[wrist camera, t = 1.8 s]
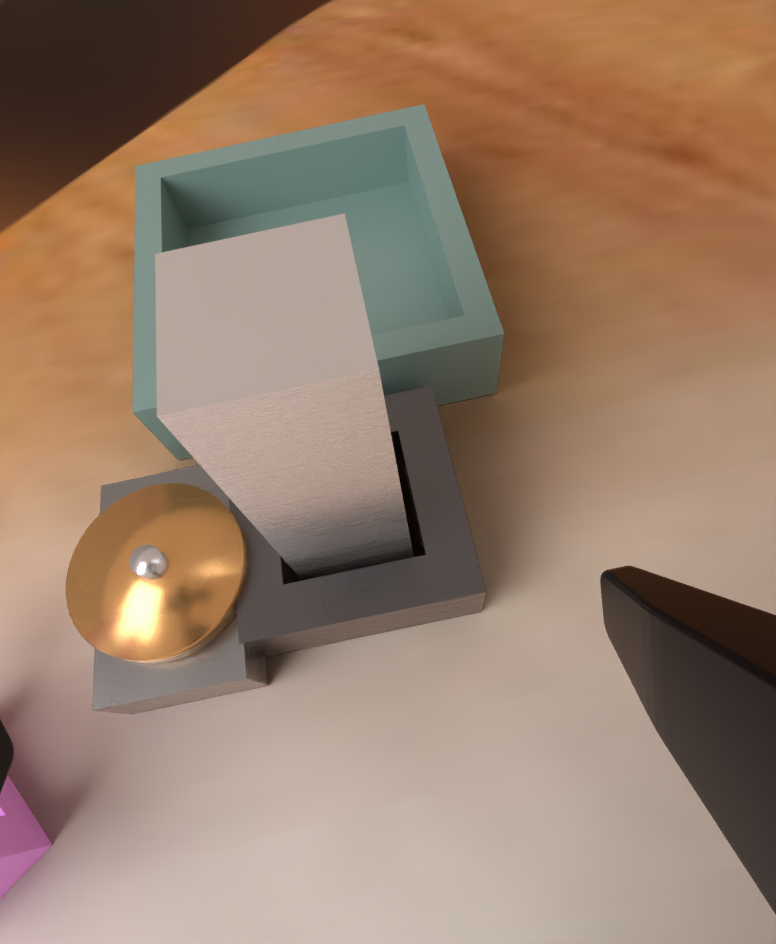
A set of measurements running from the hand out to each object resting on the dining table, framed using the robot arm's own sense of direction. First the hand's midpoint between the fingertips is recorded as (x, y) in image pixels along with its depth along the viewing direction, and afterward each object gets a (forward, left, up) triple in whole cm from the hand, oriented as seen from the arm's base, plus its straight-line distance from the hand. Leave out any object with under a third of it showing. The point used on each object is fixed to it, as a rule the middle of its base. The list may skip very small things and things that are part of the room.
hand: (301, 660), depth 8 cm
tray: (+11, -15, -13) cm, 22 cm away
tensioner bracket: (+6, -3, -13) cm, 14 cm away
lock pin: (+4, -5, -13) cm, 14 cm away
